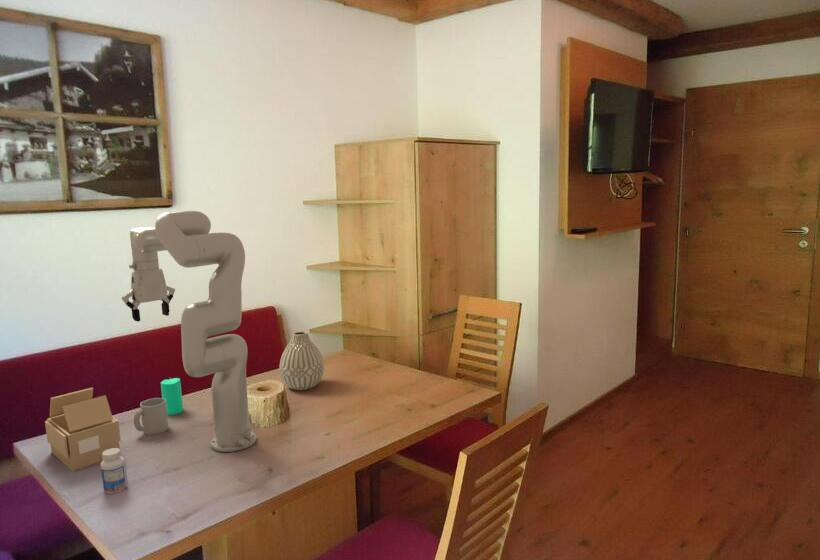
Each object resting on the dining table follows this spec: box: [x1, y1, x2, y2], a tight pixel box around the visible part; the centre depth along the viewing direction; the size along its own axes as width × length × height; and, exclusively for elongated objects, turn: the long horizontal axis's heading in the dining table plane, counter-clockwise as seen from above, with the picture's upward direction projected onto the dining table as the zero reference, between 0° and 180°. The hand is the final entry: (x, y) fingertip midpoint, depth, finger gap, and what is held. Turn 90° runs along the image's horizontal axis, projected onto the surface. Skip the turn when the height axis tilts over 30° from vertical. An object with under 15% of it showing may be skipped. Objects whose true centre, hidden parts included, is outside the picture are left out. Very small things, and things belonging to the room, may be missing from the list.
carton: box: [44, 413, 122, 472], centre depth 169 cm, size 18×14×10 cm
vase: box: [278, 330, 325, 391], centre depth 218 cm, size 16×16×20 cm
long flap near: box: [63, 395, 114, 432], centre depth 163 cm, size 1×11×7 cm, turn 136°
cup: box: [133, 397, 169, 436], centre depth 183 cm, size 7×10×9 cm
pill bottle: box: [100, 448, 129, 494], centre depth 149 cm, size 6×5×10 cm
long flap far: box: [49, 387, 94, 418], centre depth 172 cm, size 1×11×7 cm, turn 137°
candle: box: [160, 377, 184, 416], centre depth 199 cm, size 6×6×12 cm
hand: (151, 317), depth 198 cm, fingers open, 9 cm apart
